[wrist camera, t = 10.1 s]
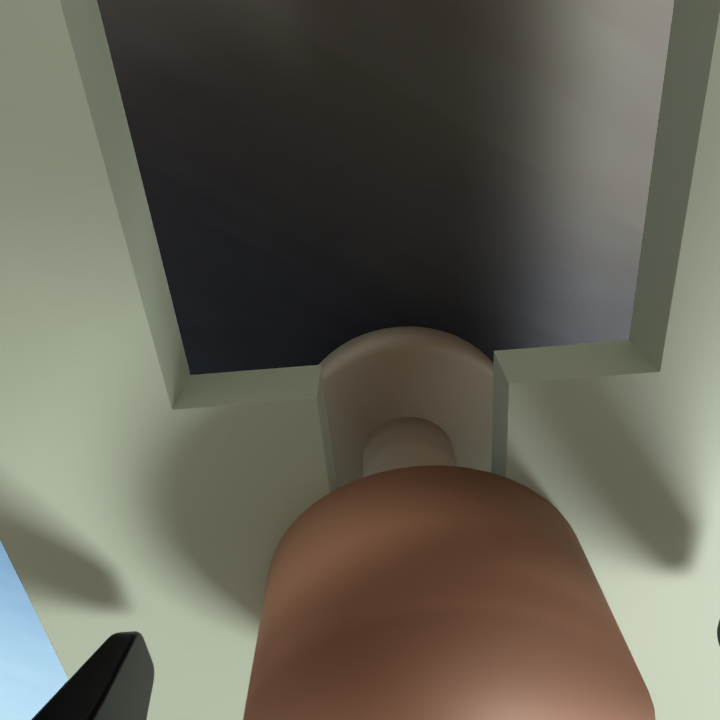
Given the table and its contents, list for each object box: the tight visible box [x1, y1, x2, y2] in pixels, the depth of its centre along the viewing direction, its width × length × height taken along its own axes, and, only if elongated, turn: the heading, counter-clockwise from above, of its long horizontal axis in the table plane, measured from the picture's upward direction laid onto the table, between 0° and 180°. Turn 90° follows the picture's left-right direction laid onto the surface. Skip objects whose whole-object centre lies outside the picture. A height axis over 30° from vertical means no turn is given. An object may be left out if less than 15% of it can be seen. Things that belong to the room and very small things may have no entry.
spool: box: [243, 326, 656, 720], centre depth 11 cm, size 5×5×8 cm
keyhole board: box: [0, 0, 720, 720], centre depth 11 cm, size 13×18×6 cm
